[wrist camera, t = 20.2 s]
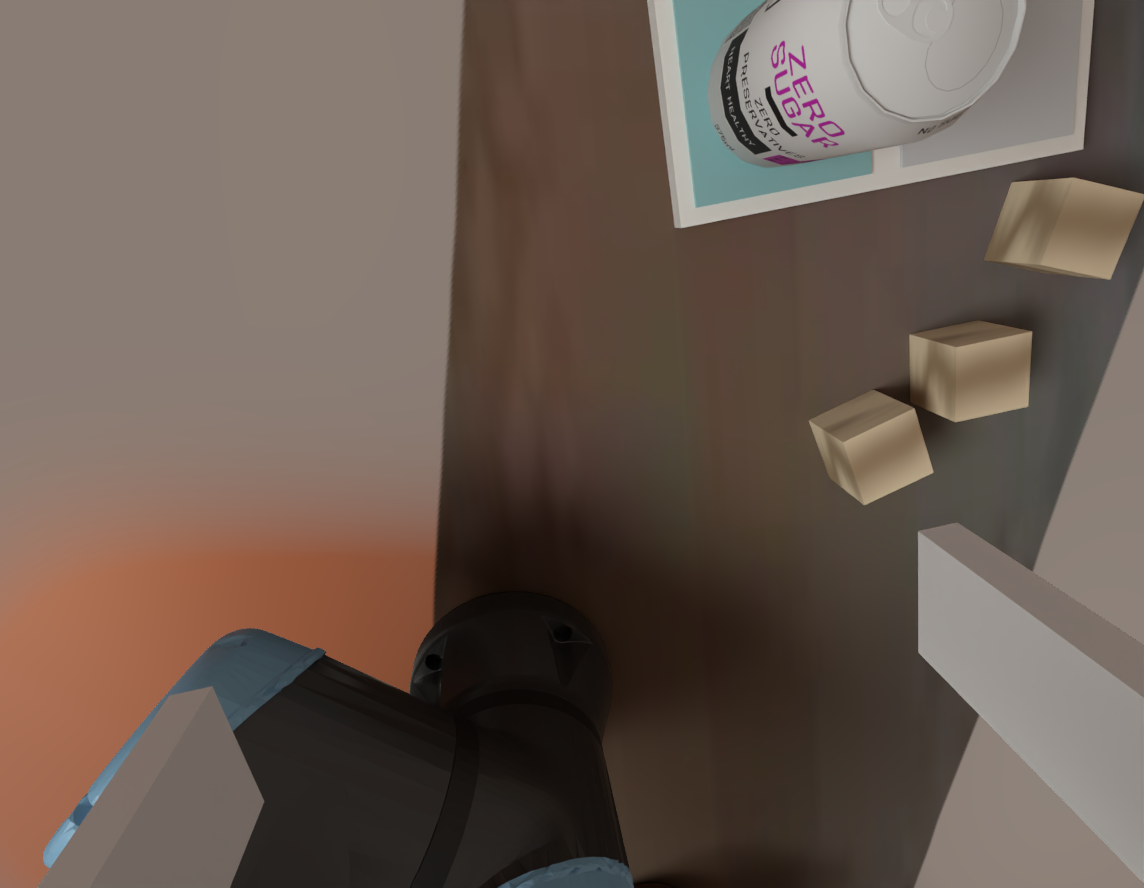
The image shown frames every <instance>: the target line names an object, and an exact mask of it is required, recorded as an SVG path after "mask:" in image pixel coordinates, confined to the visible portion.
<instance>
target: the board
mask: <svg viewBox="0 0 1144 888" xmlns="http://www.w3.org/2000/svg"><path fill="white" fill-rule="evenodd" d="M765 1H766V0H647V3H648V11H649V20H650V28H651V36H652V44H653V52H654V61H655V69H656V77H657V85H658V93H659V102H660V110H661V118H662V126H663V134H664V143H665V151H666V159H667V167H668V175H669V184H670V192H671V200H672V208H673V217H674V225H675V228H684V227H689V226H694V225H699V224H704V223H710V222H715V221H720V220H725V219H730V218H735V217H740V216H745V215H750V214H755V213H761V212H766V211H771V210H776V209H781V208H786V207H791V206H796V205H801V204H806V203H812V202H817V201H822V200H827V199H832V198H837V197H842V196H847V195H852V194H857V193H863V192H868V191H873V190H878V189H883V188H888V187H893V186H898V185H903V184H908V183H914V182H919V181H924V180H929V179H934V178H939V177H944V176H949V175H954V174H960V173H965V172H970V171H975V170H980V169H985V168H990V167H995V166H1000V165H1005V164H1011V163H1016V162H1021V161H1026V160H1031V159H1036V158H1041V157H1046V156H1051V155H1056V154H1062V153H1067V152H1072V151H1077V150H1082V149H1083V144H1084V131H1085V117H1086V104H1087V91H1088V78H1089V65H1090V52H1091V39H1092V26H1093V13H1094V0H1026V12H1025V15H1024V19H1023V23H1022V27H1021V31H1020V35H1019V39H1018V43H1017V46H1016V49H1015V50H1014V52H1013V54H1012V56H1011V57H1010V59H1009V61H1008V63H1007V64H1006V66H1005V68H1004V70H1003V71H1002V73H1001V75H1000V77H999V78H998V80H997V81H996V82H995V83H994V84H993V85H992V86H991V87H990V88H989V89H988V90H987V91H986V92H985V93H984V94H983V95H982V96H981V98H980V99H979V100H978V101H977V102H976V103H975V104H974V105H973V106H972V107H971V108H970V109H969V110H968V111H967V112H966V113H964V114H963V115H962V116H961V117H960V118H959V119H958V120H957V121H956V122H955V123H954V124H953V125H952V126H950V127H948V128H946V129H944V130H942V131H940V132H938V133H936V134H934V135H932V136H930V137H928V138H926V139H924V140H922V141H920V142H915V143H910V144H904V145H899V146H893V147H888V148H882V149H877V150H872V151H866V152H861V153H855V154H850V155H845V156H839V157H834V158H828V159H823V160H818V161H812V162H807V163H801V164H796V165H791V166H782V167H771V168H763V167H760V166H757V165H754V164H750V163H747V162H744V161H742V160H741V159H740V158H738V157H737V156H736V155H735V154H734V153H732V152H731V151H730V150H729V149H728V148H726V147H725V146H724V144H723V143H722V141H721V139H720V137H719V135H718V134H717V132H716V130H715V128H714V126H713V125H712V122H711V117H710V111H709V105H708V100H707V90H708V83H709V75H710V68H711V65H712V63H713V61H714V59H715V56H716V54H717V52H718V50H719V48H720V46H721V43H722V41H723V40H724V39H725V38H726V37H727V36H728V34H729V33H730V32H731V31H732V30H733V29H734V28H735V27H736V26H737V25H738V24H739V23H740V22H741V20H742V19H744V18H745V17H746V16H747V15H749V14H750V13H751V12H752V11H754V10H755V9H756V8H757V7H758V6H760V5H761V4H762V3H763V2H765Z"/></svg>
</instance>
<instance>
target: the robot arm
mask: <svg viewBox="0 0 1144 888" xmlns="http://www.w3.org/2000/svg"><path fill="white" fill-rule="evenodd" d="M918 652H919V654H920V655H921V656H922V657H923V658H924V659H925V660H926V661H927V662H928V663H929V664H930V665H931V666H932V667H933V668H934V669H935V670H936V671H937V672H938V673H939V674H940V675H941V676H942V677H943V678H944V679H945V680H946V681H947V682H948V683H949V684H950V685H951V686H952V687H953V688H954V689H955V690H956V691H957V692H958V694H959V695H960V696H961V697H962V698H963V699H964V700H965V701H966V702H967V703H968V704H969V705H970V706H971V707H972V708H973V709H974V710H975V711H976V712H977V713H978V714H979V715H980V716H981V717H982V718H983V719H984V720H985V721H986V722H987V723H988V724H989V725H990V726H991V727H992V728H993V729H994V730H995V731H996V732H997V733H998V735H1000V736H1001V738H1002V739H1004V741H1005V742H1006V743H1008V745H1009V746H1010V747H1011V748H1012V749H1013V750H1014V751H1015V752H1016V753H1017V754H1018V755H1019V756H1020V757H1021V758H1022V759H1023V760H1024V761H1025V762H1026V763H1027V764H1028V765H1029V766H1030V767H1031V768H1032V769H1033V770H1034V771H1035V772H1036V773H1037V774H1038V776H1039V777H1040V778H1042V780H1043V781H1044V782H1045V783H1046V784H1047V785H1048V786H1049V787H1050V788H1051V789H1052V790H1053V791H1054V792H1055V793H1056V794H1057V795H1058V796H1059V797H1060V798H1061V799H1062V800H1063V801H1064V802H1065V803H1066V804H1067V805H1068V806H1069V807H1070V808H1071V809H1072V810H1073V811H1074V812H1075V813H1076V814H1077V815H1078V817H1079V818H1080V819H1081V820H1083V822H1084V823H1085V824H1086V825H1087V826H1088V827H1089V828H1090V829H1091V830H1092V831H1093V832H1094V833H1095V834H1096V835H1097V836H1098V837H1099V838H1100V839H1101V840H1102V841H1103V842H1104V843H1105V844H1106V845H1107V846H1108V847H1109V848H1110V849H1111V850H1112V851H1113V852H1114V853H1115V854H1116V855H1117V856H1118V858H1119V859H1120V860H1122V862H1123V863H1124V864H1125V865H1126V866H1127V867H1128V868H1129V869H1130V870H1131V871H1132V872H1133V873H1134V874H1135V875H1136V876H1137V877H1138V878H1139V879H1140V880H1141V881H1142V882H1143V883H1144V645H1143V644H1142V643H1140V642H1138V641H1137V640H1135V639H1134V638H1132V637H1131V636H1129V635H1128V634H1126V633H1125V632H1123V631H1122V630H1120V629H1119V628H1117V627H1116V626H1114V625H1113V624H1111V623H1110V622H1108V621H1106V620H1105V619H1103V618H1102V617H1100V616H1099V615H1097V614H1096V613H1094V612H1093V611H1091V610H1090V609H1088V608H1087V607H1085V606H1083V605H1082V604H1081V603H1079V602H1077V601H1076V600H1075V599H1073V598H1071V597H1070V596H1068V595H1067V594H1065V593H1064V592H1062V591H1060V590H1059V589H1058V588H1056V587H1055V586H1053V585H1052V584H1050V583H1049V582H1047V581H1046V580H1044V579H1042V578H1041V577H1039V576H1038V575H1036V574H1035V573H1033V572H1032V571H1030V570H1029V569H1027V568H1026V567H1024V566H1023V565H1021V564H1020V563H1018V562H1017V561H1015V560H1014V559H1012V558H1011V557H1009V556H1007V555H1006V554H1004V553H1003V552H1001V551H1000V550H998V549H997V548H995V547H994V546H992V545H991V544H989V543H988V542H986V541H985V540H983V539H982V538H980V537H979V536H977V535H976V534H974V533H972V532H971V531H969V530H968V529H966V528H965V527H963V526H962V525H960V524H959V523H953V524H948V525H944V526H939V527H935V528H930V529H926V530H921V531H918ZM325 653H326V652H325V651H324V650H323V649H320V648H316V649H310V648H308V647H305V646H302V645H300V644H297V643H295V642H292V641H290V640H287V639H285V638H282V637H279V636H277V635H274V634H272V633H269V632H267V631H264V630H260V629H253V628H247V629H240V630H236V631H233V632H231V633H228V634H226V635H225V636H223V637H221V638H220V639H218V640H217V641H216V642H215V643H213V644H212V645H211V646H210V647H209V648H208V649H207V650H206V651H205V652H204V653H203V654H202V655H201V656H200V657H199V658H198V659H197V660H196V662H195V663H194V664H193V665H192V666H191V667H190V668H189V669H188V670H187V671H186V673H185V674H184V675H183V676H182V677H181V678H180V679H179V680H178V682H177V683H176V684H175V685H174V686H173V687H172V688H171V690H170V691H169V692H168V693H167V694H166V695H165V697H164V698H163V699H162V700H161V701H160V702H159V703H158V705H157V706H156V707H155V708H154V709H153V711H152V712H151V713H150V714H149V715H148V716H147V718H146V719H145V720H144V721H143V722H142V724H141V725H140V726H139V727H138V729H137V730H136V731H135V732H134V733H133V734H132V736H131V737H130V738H129V739H128V741H127V742H126V743H125V744H124V745H123V747H122V748H121V749H120V750H119V752H118V753H117V754H116V755H115V757H114V758H113V759H112V760H111V762H110V763H109V764H108V765H107V766H106V768H105V769H104V770H103V772H102V773H101V774H100V775H99V777H98V778H97V779H96V781H95V782H94V783H93V784H92V786H91V787H90V788H89V792H88V793H87V794H86V795H85V796H84V797H83V798H82V800H81V801H80V802H79V804H78V805H77V806H76V808H75V809H74V811H73V812H72V813H71V815H70V816H69V817H68V818H67V819H66V820H65V821H64V822H63V823H62V825H61V826H60V827H59V829H58V830H57V832H56V833H55V834H54V836H53V837H52V839H51V840H50V842H49V843H48V845H47V846H46V848H45V851H44V854H43V859H44V864H45V865H46V866H47V867H48V868H49V871H48V872H47V874H46V875H45V876H44V878H43V879H42V881H41V882H40V884H39V885H38V887H37V888H634V885H633V879H632V876H631V873H630V870H629V865H628V861H627V856H626V852H625V847H624V843H623V838H622V834H621V829H620V825H619V820H618V816H617V812H616V807H615V803H614V798H613V794H612V789H611V785H610V780H609V776H608V771H607V767H606V762H605V758H604V754H603V748H602V740H603V735H604V731H605V726H606V721H607V717H608V712H609V707H610V703H611V697H612V676H611V669H610V665H609V661H608V657H607V653H606V650H605V647H604V644H603V642H602V639H601V638H600V636H599V634H598V632H597V631H596V629H595V628H594V627H593V625H592V624H591V623H590V622H589V621H588V620H587V619H586V618H585V617H584V616H583V615H582V614H581V613H579V612H578V611H577V610H575V609H574V608H572V607H571V606H569V605H567V604H565V603H563V602H561V601H559V600H556V599H554V598H551V597H548V596H544V595H540V594H535V593H527V592H504V593H497V594H491V595H487V596H483V597H480V598H477V599H474V600H472V601H469V602H467V603H465V604H463V605H461V606H459V607H457V608H456V609H454V610H452V611H451V612H449V613H448V614H447V615H445V616H444V617H443V618H442V619H441V620H440V621H438V622H437V623H436V624H435V625H434V627H433V628H432V629H431V630H430V631H429V633H428V634H427V635H426V637H425V638H424V640H423V642H422V643H421V645H420V647H419V650H418V652H417V655H416V658H415V661H414V666H413V671H412V677H411V683H410V694H409V693H406V692H404V691H402V690H400V689H397V688H395V687H393V686H391V685H389V684H387V683H384V682H382V681H380V680H378V679H376V678H374V677H372V676H369V675H367V674H365V673H363V672H360V671H358V670H356V669H354V668H352V667H350V666H347V665H345V664H343V663H341V662H339V661H337V660H334V659H332V658H330V657H328V656H326V655H325Z"/></svg>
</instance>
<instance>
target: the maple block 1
mask: <svg viewBox="0 0 1144 888" xmlns="http://www.w3.org/2000/svg"><path fill="white" fill-rule="evenodd" d="M809 423H810V425H811V428H812V431H813V434H814V436H815V439H816V442H817V445H818V448H819V450H820V453H821V456H822V459H823V461H824V464H825V467H826V470H827V472H828V475H829V478H830V479H831V480H833V481H834V482H835V483H837V484H838V485H839V486H840V487H842V488H843V489H844V490H846V491H847V492H848V493H849V494H851V495H852V496H853V497H855V498H856V499H857V500H858V501H860V502H861V503H862V504H864V505H866V504H868V503H870V502H872V501H874V500H877V499H879V498H881V497H883V496H885V495H887V494H889V493H891V492H894V491H896V490H898V489H900V488H902V487H904V486H906V485H908V484H910V483H913V482H915V481H917V480H919V479H921V478H923V477H925V476H927V475H929V474H932V473H934V472H933V469H932V466H931V462H930V459H929V456H928V452H927V449H926V445H925V442H924V439H923V435H922V432H921V428H920V425H919V422H918V418H917V415H916V411H915V408H913V407H911V406H909V405H907V404H904V403H902V402H900V401H898V400H895V399H893V398H891V397H889V396H887V395H884V394H882V393H880V392H878V391H875V390H871V391H869V392H867V393H865V394H863V395H860V396H858V397H856V398H854V399H852V400H850V401H848V402H846V403H844V404H842V405H840V406H838V407H836V408H833V409H831V410H829V411H827V412H825V413H823V414H821V415H819V416H817V417H815V418H813V419H811V420H809Z"/></svg>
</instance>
